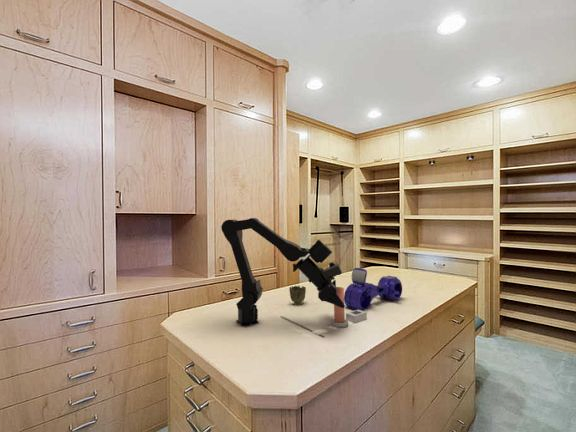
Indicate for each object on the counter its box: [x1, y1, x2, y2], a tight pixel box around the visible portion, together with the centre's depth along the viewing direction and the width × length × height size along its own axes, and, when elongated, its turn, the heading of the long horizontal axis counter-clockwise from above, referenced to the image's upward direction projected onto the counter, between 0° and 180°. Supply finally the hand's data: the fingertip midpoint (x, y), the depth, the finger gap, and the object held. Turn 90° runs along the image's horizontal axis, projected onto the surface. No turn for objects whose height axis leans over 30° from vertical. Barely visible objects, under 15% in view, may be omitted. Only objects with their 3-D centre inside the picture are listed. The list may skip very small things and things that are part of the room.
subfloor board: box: [280, 315, 354, 339], centre depth 110 cm, size 26×24×1 cm
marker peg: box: [330, 286, 349, 329], centre depth 103 cm, size 6×6×13 cm
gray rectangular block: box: [345, 309, 368, 324], centre depth 108 cm, size 7×4×3 cm, turn 127°
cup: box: [288, 285, 307, 306], centre depth 128 cm, size 8×7×8 cm
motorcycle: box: [344, 267, 403, 311], centre depth 130 cm, size 35×14×18 cm, turn 129°
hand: (343, 303), depth 103 cm, fingers open, 8 cm apart
